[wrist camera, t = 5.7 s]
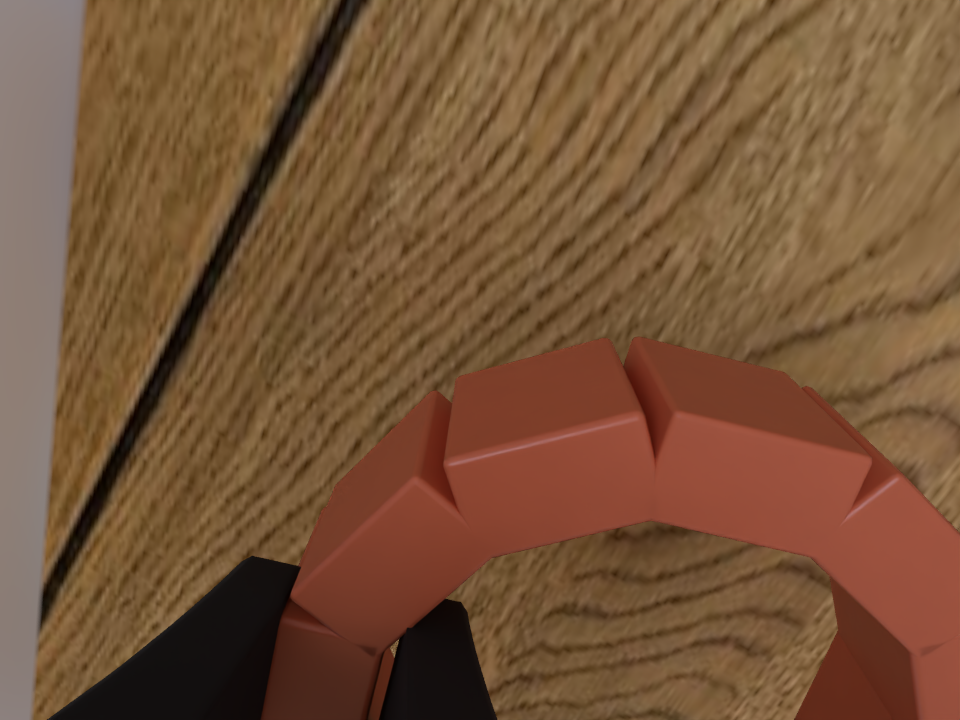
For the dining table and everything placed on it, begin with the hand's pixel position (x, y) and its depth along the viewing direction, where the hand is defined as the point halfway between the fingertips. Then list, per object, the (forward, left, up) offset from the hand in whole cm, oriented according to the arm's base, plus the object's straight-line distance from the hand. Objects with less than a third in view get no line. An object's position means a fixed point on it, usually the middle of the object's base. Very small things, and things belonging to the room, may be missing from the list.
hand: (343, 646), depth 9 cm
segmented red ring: (+4, 0, -1) cm, 4 cm away
